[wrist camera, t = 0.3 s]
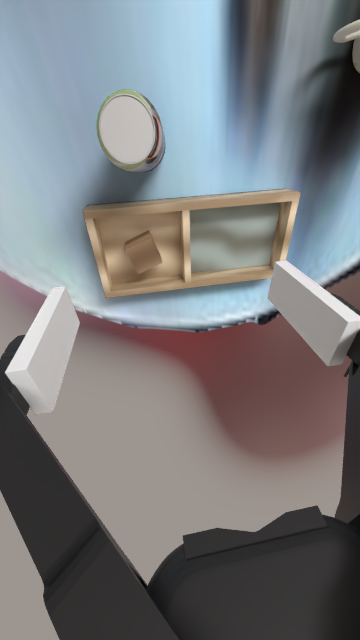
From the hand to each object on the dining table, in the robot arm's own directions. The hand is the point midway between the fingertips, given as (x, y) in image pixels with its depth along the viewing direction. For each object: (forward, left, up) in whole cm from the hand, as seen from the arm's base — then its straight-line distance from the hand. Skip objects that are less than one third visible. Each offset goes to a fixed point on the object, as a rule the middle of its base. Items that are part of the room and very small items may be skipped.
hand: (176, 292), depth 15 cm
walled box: (+5, +6, -25) cm, 27 cm away
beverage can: (-8, -1, -26) cm, 27 cm away
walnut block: (+5, -2, -24) cm, 25 cm away
